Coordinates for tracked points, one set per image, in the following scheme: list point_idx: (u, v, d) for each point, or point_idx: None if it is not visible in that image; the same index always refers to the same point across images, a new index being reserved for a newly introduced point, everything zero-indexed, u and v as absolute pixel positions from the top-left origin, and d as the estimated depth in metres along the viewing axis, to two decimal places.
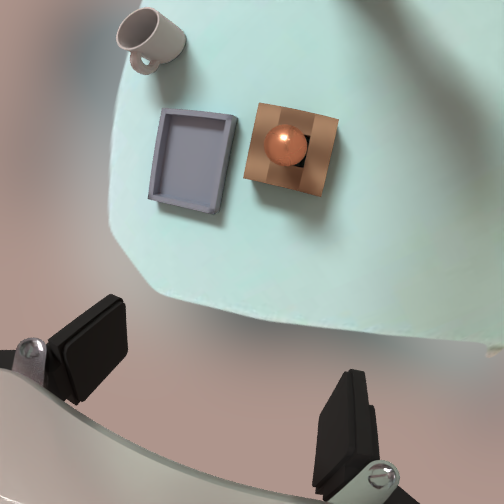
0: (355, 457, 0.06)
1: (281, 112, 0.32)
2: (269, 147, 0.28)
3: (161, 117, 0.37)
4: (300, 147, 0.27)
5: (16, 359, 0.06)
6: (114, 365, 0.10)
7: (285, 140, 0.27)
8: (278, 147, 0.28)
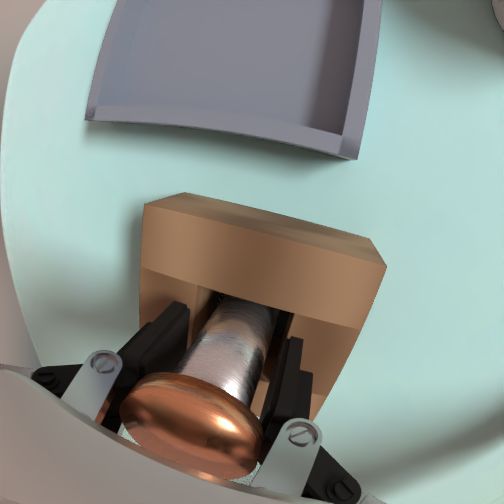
0: (276, 411, 0.07)
1: (343, 328, 0.11)
2: (164, 410, 0.06)
3: None
4: (186, 465, 0.07)
5: (83, 368, 0.07)
6: None
7: (199, 449, 0.07)
8: (171, 430, 0.07)
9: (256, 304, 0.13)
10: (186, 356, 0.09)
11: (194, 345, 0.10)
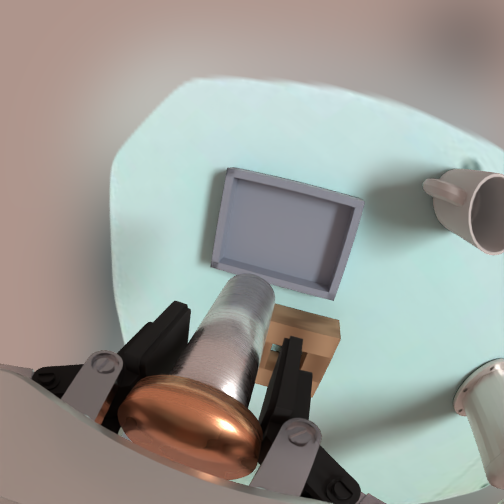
0: (276, 411, 0.07)
1: (325, 357, 0.30)
2: (163, 413, 0.06)
3: (350, 200, 0.26)
4: None
5: (84, 368, 0.07)
6: None
7: (199, 451, 0.07)
8: (170, 432, 0.07)
9: (251, 303, 0.13)
10: (182, 357, 0.09)
11: (190, 346, 0.10)
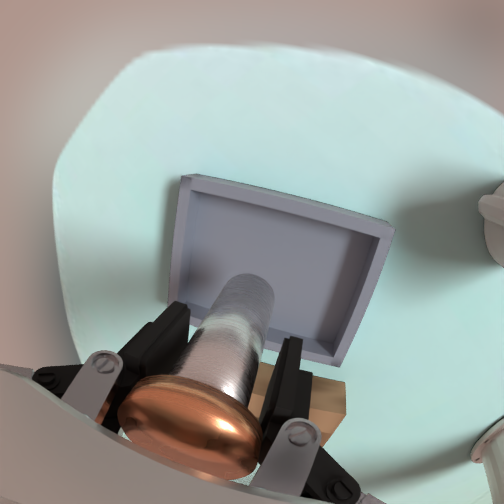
0: (276, 411, 0.07)
1: (323, 433, 0.20)
2: (163, 413, 0.06)
3: (373, 226, 0.16)
4: None
5: (84, 368, 0.07)
6: None
7: (198, 451, 0.07)
8: (170, 433, 0.07)
9: (251, 303, 0.13)
10: (182, 357, 0.09)
11: (190, 346, 0.10)
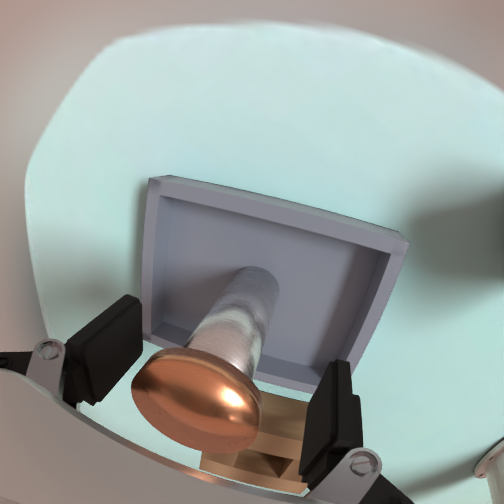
0: (336, 443, 0.06)
1: None
2: (174, 381, 0.07)
3: (383, 239, 0.13)
4: (191, 440, 0.08)
5: (33, 359, 0.06)
6: (130, 365, 0.11)
7: (204, 421, 0.08)
8: (179, 402, 0.08)
9: (256, 292, 0.14)
10: (192, 337, 0.10)
11: (199, 327, 0.11)
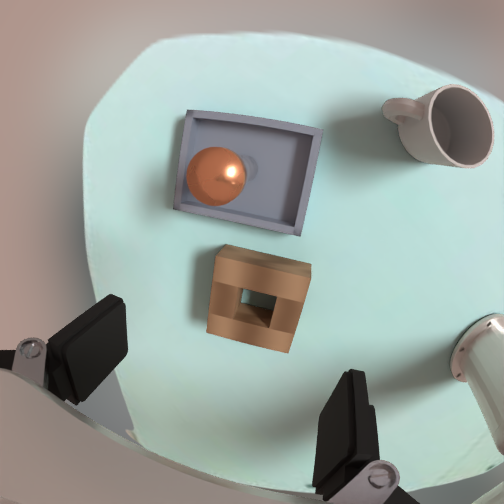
0: (355, 457, 0.06)
1: (296, 302, 0.29)
2: (209, 154, 0.20)
3: (307, 128, 0.25)
4: (212, 197, 0.21)
5: (16, 359, 0.06)
6: (114, 365, 0.10)
7: (220, 176, 0.20)
8: (210, 167, 0.20)
9: (244, 156, 0.26)
10: None
11: None
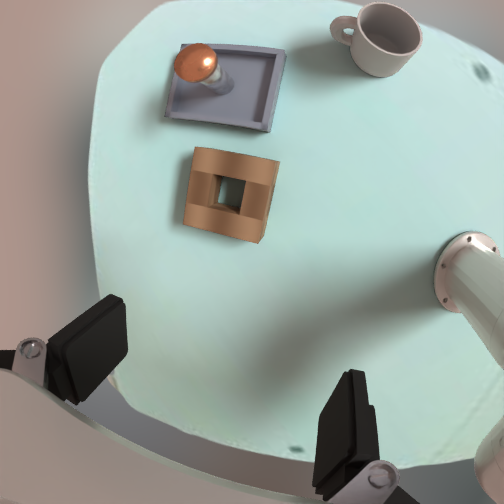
0: (355, 457, 0.06)
1: (263, 185, 0.32)
2: (192, 48, 0.23)
3: (272, 49, 0.28)
4: (191, 74, 0.24)
5: (16, 359, 0.06)
6: (114, 365, 0.10)
7: (198, 60, 0.23)
8: (191, 56, 0.23)
9: None
10: None
11: None
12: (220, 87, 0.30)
